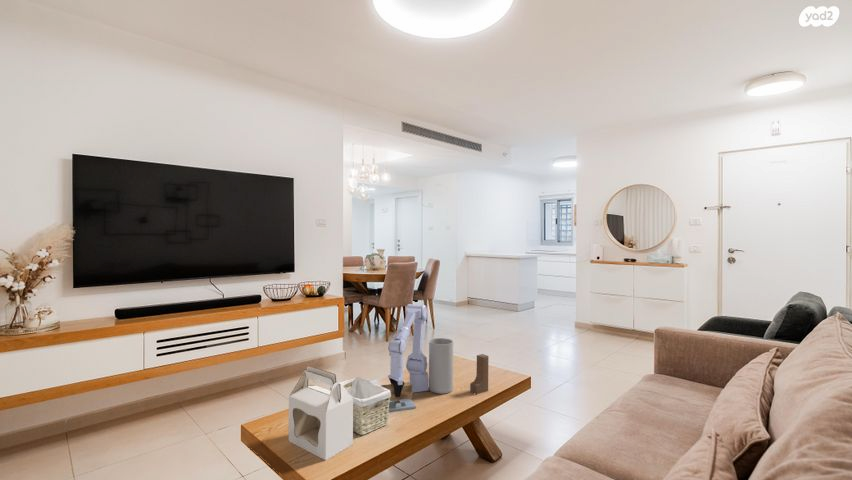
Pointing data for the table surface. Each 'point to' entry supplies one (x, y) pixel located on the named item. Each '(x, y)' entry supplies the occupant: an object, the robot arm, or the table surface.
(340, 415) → the gable box
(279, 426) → the table surface
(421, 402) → the table surface
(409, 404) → the blue-grey flat rectangular panel
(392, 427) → the table surface
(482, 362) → the wooden block
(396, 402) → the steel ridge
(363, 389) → the storage basket
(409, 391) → the walnut plank
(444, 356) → the cylinder vase
